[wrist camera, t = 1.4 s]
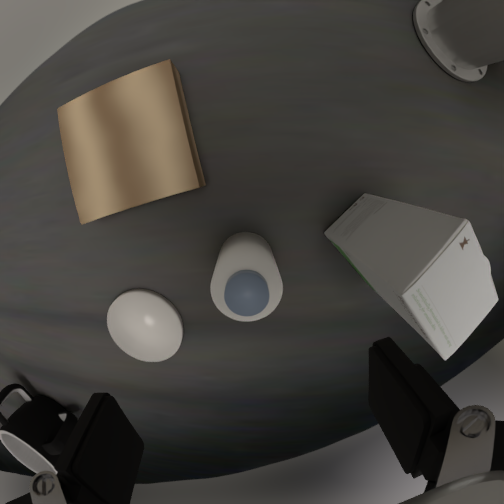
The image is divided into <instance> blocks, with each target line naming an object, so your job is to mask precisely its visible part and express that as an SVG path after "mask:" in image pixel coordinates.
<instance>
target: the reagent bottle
mask: <svg viewBox="0 0 504 504" xmlns="http://www.w3.org/2000/svg"><path fill="white" fill-rule="evenodd" d="M210 290H211V296H212V299H213V302H214V304H215V305H216V307H217V308H218V309H219V310H220V311H221V312H222V313H223V314H224V315H226V316H228V317H229V318H232V319H234V320H238V321H255V320H259V319H261V318H264V317H266V316H267V315H269V314H270V313H271V312H272V311H273V310H274V309H275V308H276V307H277V305H278V304H279V302H280V300H281V297H282V292H283V284H282V279H281V276H280V273H279V270H278V267H277V264H276V261H275V258H274V256H273V253H272V250H271V247H270V245H269V244H268V242H267V241H266V240H265V239H264V238H263V237H261V236H260V235H258V234H255V233H252V232H240V233H237V234H234V235H232V236H231V237H229V238H228V239H227V240H226V241H225V242H224V243H223V245H222V247H221V249H220V252H219V255H218V259H217V262H216V266H215V270H214V273H213V277H212V280H211V287H210Z"/></svg>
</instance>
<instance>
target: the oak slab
mask: <svg viewBox="0 0 504 504" xmlns="http://www.w3.org/2000/svg"><path fill="white" fill-rule="evenodd" d="M57 111H58V118H59V126H60V132H61V139H62V144H63V150H64V155H65V161H66V166H67V170H68V175H69V179H70V184H71V188H72V192H73V196H74V200H75V204H76V208H77V211H78V215H79V219H80V222H81V225H82V224H85V223H87V222H90V221H93V220H96V219H99V218H102V217H105V216H108V215H110V214H113V213H116V212H119V211H122V210H126V209H129V208H132V207H135V206H138V205H141V204H144V203H148V202H151V201H154V200H157V199H161V198H164V197H168V196H171V195H174V194H178V193H181V192H185V191H189V190H192V189H196V188H200V187H202V186H205V185H206V184H205V180H204V176H203V172H202V168H201V164H200V160H199V156H198V152H197V147H196V143H195V139H194V135H193V131H192V127H191V122H190V118H189V114H188V110H187V105H186V101H185V97H184V92H183V88H182V83H181V79H180V74H179V72H178V70H177V69H176V67H175V66H174V65H173V63H172V62H171V60H170V59H169V60H166V61H163V62H160V63H157V64H154V65H151V66H149V67H146V68H143V69H140V70H138V71H135V72H133V73H130V74H128V75H125V76H123V77H120V78H118V79H116V80H113V81H111V82H109V83H107V84H105V85H102V86H100V87H98V88H96V89H94V90H92V91H90V92H88V93H86V94H84V95H82V96H80V97H78V98H76V99H74V100H72V101H70V102H68V103H67V104H65V105H63V106H61V107H59V108H58V109H57Z"/></svg>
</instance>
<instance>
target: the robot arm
mask: <svg viewBox="0 0 504 504" xmlns="http://www.w3.org/2000/svg"><path fill="white" fill-rule="evenodd" d="M413 21H414V26H415V29H416V32H417V35H418V37H419V39H420V41H421V43H422V44H423V46H424V47H425V49H426V50H427V52H428V53H429V55H430V56H431V57H432V58H433V60H434V61H435V62H436V63H437V64H438V65H439V66H440V67H441V68H442V69H443V70H445V71H446V72H447V73H448V74H450V75H451V76H453V77H454V78H456V79H458V80H461V81H464V82H474V81H478V80H480V79H482V78H483V76H484V75H485V73H486V71H487V65H489V64H493V63H496V62H500V61H504V0H421V1H420V2H419V3H417V5H416V6H415V8H414V11H413ZM368 400H369V406H370V408H371V410H372V412H373V414H374V416H375V418H376V419H377V421H378V423H379V425H380V427H381V429H382V431H383V432H384V434H385V436H386V438H387V440H388V442H389V443H390V445H391V447H392V449H393V451H394V453H395V455H396V457H397V458H398V460H399V462H400V464H401V466H402V468H403V470H404V472H405V473H406V474H409V473H411V475H412V477H413V478H416V477H418V476H420V475H422V474H423V476H424V478H425V479H426V480H428V482H427V485H426V488H425V491H424V493H423V494H420V495H418V496H416V497H413V498H411V499H408V500H406V501H404V502H402V503H399V504H504V421H495V417H494V415H493V413H492V412H491V411H490V410H489V409H488V408H486V407H484V406H479V405H472V406H467V407H465V408H463V409H461V410H460V409H459V408H458V407H457V406H456V405H455V404H454V402H453V401H452V400H451V399H450V398H449V397H448V395H447V394H446V393H445V392H444V391H443V390H442V388H441V387H440V386H439V385H438V384H437V383H436V382H435V380H434V379H433V378H432V377H431V376H430V375H429V374H428V373H427V371H426V370H425V369H424V368H423V367H422V366H421V365H420V364H413V363H412V361H411V360H410V359H409V358H408V357H407V356H406V355H405V353H404V352H403V351H402V350H401V349H400V348H399V347H398V346H397V345H396V343H395V342H394V341H393V340H392V339H391V338H390V337H387V338H384V339H381V340H378V341H375V342H374V343H373V347H370V348H369V398H368ZM143 450H144V443H143V441H142V439H141V438H140V436H139V435H138V433H137V432H136V431H135V429H134V428H133V426H132V425H131V423H130V422H129V420H128V419H127V417H126V416H125V414H124V413H123V411H122V409H121V408H120V406H119V405H118V403H117V401H116V400H115V398H114V397H113V396H111V395H110V394H109V393H94V394H93V395H92V396H91V398H90V400H89V402H88V403H87V405H86V407H85V409H84V411H83V412H82V414H81V416H80V418H79V420H78V422H77V424H76V425H75V427H74V429H73V431H72V433H71V435H70V437H69V439H68V441H67V443H66V445H65V447H64V449H63V450H62V452H61V454H60V456H59V458H58V461H57V463H56V465H55V467H54V469H55V470H56V471H57V474H54V473H53V472H51V471H41V472H39V473H37V474H36V475H35V476H34V477H33V478H32V480H31V481H30V485H29V488H30V493H28V494H25V495H23V496H21V497H19V498H17V499H14V500H12V501H10V502H7V503H6V504H130V500H131V496H132V492H133V488H134V484H135V480H136V476H137V472H138V469H139V465H140V461H141V457H142V454H143Z"/></svg>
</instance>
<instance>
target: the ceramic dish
mask: <svg viewBox="0 0 504 504" xmlns="http://www.w3.org/2000/svg"><path fill="white" fill-rule="evenodd" d="M107 325H108V329H109V332H110V334H111V336H112V338H113V340H114V341H115V343H116V344H117V345H118V346H119V347H120V348H121V349H122V350H123V351H124V352H126V353H127V354H128V355H130V356H132V357H134V358H136V359H139V360H142V361H147V362H158V361H163V360H166V359H168V358H170V357H171V356H173V355H174V354H175V353H176V351H177V350H178V348H179V346H180V344H181V341H182V338H183V333H184V326H183V321H182V318H181V316H180V314H179V312H178V310H177V309H176V307H175V306H174V305H173V304H172V303H171V302H170V301H169V300H168V299H167V298H165V297H164V296H162V295H161V294H159V293H157V292H154V291H151V290H147V289H131V290H128V291H126V292H124V293H122V294H121V295H119V296H118V297H117V298H116V300H115V301H114V302H113V303H112V304H111V306H110V308H109V311H108V314H107Z"/></svg>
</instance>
